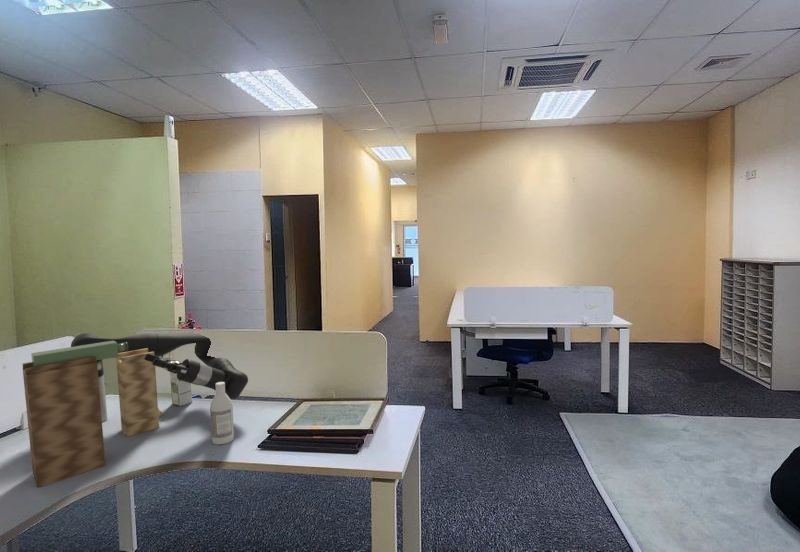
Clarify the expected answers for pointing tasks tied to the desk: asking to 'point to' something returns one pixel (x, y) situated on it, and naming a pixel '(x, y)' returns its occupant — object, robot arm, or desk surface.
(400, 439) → the desk surface
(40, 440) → the brown patterned box
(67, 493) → the desk surface
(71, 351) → the sage green plank
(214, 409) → the bath foam
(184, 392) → the syrup box
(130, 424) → the block
